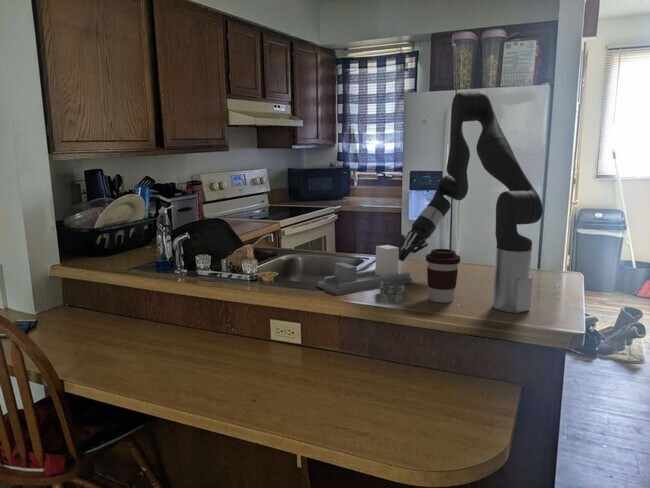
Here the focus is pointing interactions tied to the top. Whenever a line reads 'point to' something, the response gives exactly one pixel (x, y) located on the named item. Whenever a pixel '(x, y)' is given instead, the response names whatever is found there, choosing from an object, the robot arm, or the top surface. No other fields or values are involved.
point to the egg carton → (391, 292)
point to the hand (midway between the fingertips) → (399, 259)
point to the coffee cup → (442, 274)
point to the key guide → (362, 282)
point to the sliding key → (386, 260)
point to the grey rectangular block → (345, 272)
